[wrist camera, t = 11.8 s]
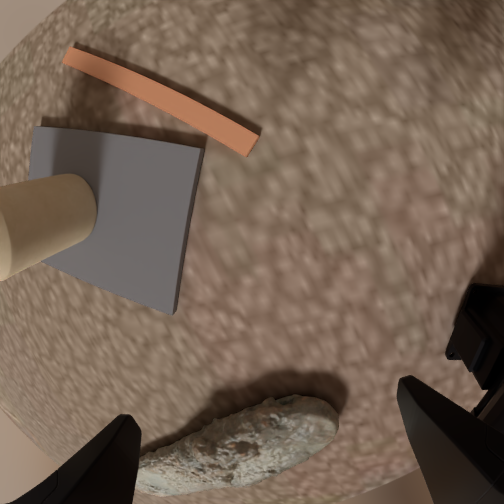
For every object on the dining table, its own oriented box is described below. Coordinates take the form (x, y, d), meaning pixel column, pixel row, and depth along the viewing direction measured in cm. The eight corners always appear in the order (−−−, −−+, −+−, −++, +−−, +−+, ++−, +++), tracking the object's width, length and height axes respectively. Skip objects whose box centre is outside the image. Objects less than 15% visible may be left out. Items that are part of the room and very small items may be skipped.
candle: (42, 203, 21) (-52, 235, 12) (73, 158, 20) (-36, 175, 10) (74, 254, 22) (-17, 305, 13) (109, 213, 20) (2, 256, 11)
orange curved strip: (259, 136, 18) (258, 136, 17) (247, 156, 18) (245, 157, 18) (73, 47, 18) (69, 46, 17) (65, 63, 18) (61, 62, 18)
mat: (204, 149, 19) (200, 148, 18) (176, 310, 23) (172, 315, 22) (40, 126, 20) (34, 126, 19) (33, 252, 24) (28, 255, 23)
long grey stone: (114, 451, 36) (166, 483, 37) (100, 476, 31) (156, 508, 32) (288, 361, 22) (361, 418, 24) (280, 415, 17) (364, 465, 19)
